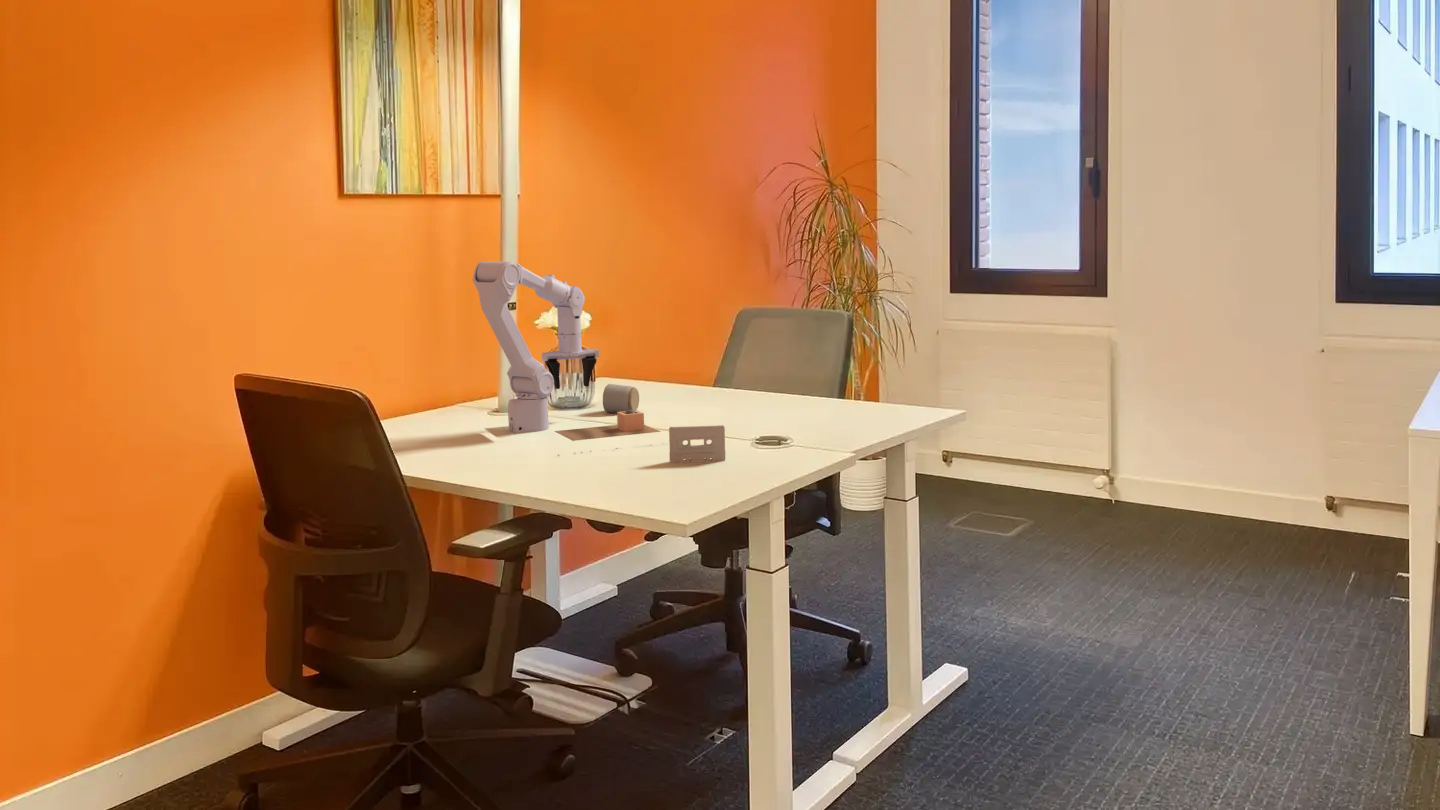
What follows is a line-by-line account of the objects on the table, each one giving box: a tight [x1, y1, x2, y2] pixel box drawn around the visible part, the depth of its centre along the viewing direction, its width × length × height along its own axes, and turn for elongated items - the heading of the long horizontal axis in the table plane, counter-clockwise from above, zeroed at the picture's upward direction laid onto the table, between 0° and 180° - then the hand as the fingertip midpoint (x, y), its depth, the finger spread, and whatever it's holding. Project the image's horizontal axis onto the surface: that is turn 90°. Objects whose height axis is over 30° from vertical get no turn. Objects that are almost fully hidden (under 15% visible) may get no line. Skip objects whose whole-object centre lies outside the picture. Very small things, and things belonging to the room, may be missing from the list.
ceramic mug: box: [602, 383, 640, 414], centre depth 330 cm, size 11×8×8 cm
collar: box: [616, 409, 645, 431], centre depth 298 cm, size 5×5×4 cm
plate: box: [554, 410, 662, 442], centre depth 296 cm, size 22×14×6 cm, turn 115°
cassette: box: [668, 424, 726, 463], centre depth 264 cm, size 12×2×8 cm, turn 93°
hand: (571, 387), depth 312 cm, fingers open, 7 cm apart
